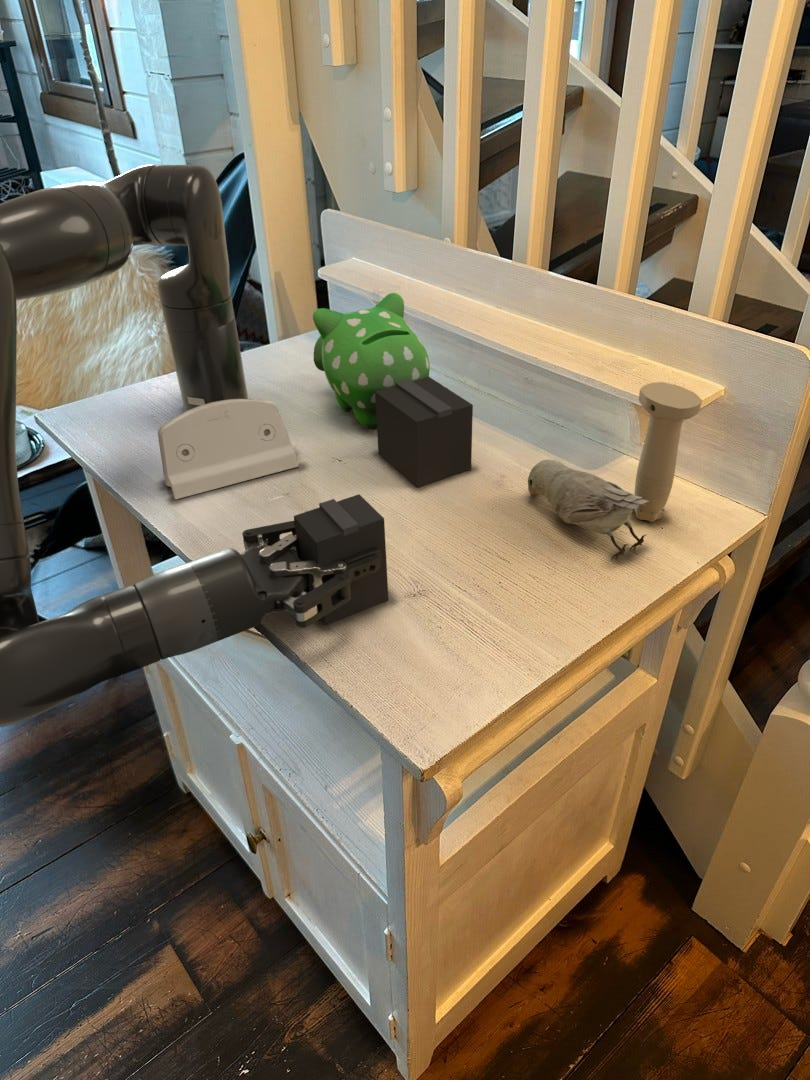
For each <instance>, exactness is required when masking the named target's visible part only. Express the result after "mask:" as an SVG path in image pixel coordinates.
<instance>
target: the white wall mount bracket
mask: <svg viewBox="0 0 810 1080" xmlns="http://www.w3.org/2000/svg"><path fill="white" fill-rule="evenodd" d="M157 439H158V445H159V452H160V453H159V454H160V458H161V464H162V466H161V467H162V472H163V479H164V484H165V486H167V487H170V488H171V492H172V495H173V499H174V500H179V499H183V498H186V497H190V496H194V495H197V494H201V493H205V492H208V491H209V492H210V491H213V490H216V489H219V488H223V487H227V486H231V485H234V484H239V483H242V482H246V481H249V480H253V479H257V478H261V477H263V476H264V477H265V476H268V475H271V474H276V473H279V472H283V471H288V470H290V469H294V468H297V467H299V461H298V457H297V454H296V452H295V449H294V447H293V444H292V442H291V438H290V437H289V434H288V432H287V428H286V426H285V424H284V420H283V418H282V415H281V413H280V410H279V408H278V405H276V404H275V403H274V402H272V401H270V400H263V399H257V398H248V399H230V400H222V401H217V402H212V403H208V404H205V405H201V406H198V407H196V408H193V409H190V410H188V411H186V412H184V411H183V412H182V413H180V414H178V415H176V416H174V417H172V418H171V419H169V420H168V421H166V422H165V423H163V424H162V425H161V426H160V427H159V428H158V431H157Z"/></svg>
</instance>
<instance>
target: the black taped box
mask: <svg viewBox="0 0 810 1080" xmlns="http://www.w3.org/2000/svg"><path fill="white" fill-rule="evenodd" d="M375 401H376V419H377V428H376V433H377V434H376V435H377V436H376V437H377V453H378V455H379V456H380V457H382V459H384V460H385V462H387V463H388V464H389V465H390V466H392V467H393V468H394V469H396V470H397V471H398V472H399V473H400V474H401V475H402V476H403V477H404V478H405V479H407V480H408V481H409V482H410V483H411V484H413V485H414V486H415V487H416V488H421V487H423V486H426V485H429V484H432V483H436V482H438V481H441V480H443V479H446V478H449V477H452V476H456V475H459V474H461V473H465V472H467V471H470V470H472V453H473V451H472V448H473V416H474V415H473V413H474V411H473V410H474V405H473V404H472V403H470V402H469V401H468V400H466V399H464V398H463V397H461V396H460V395H459V394H457V393H455V392H453V391H452V390H450V389H449V388H447V387H446V386H444V385H443V384H441V383H440V382H438V381H436V380H435V379H433V378H432V377H431V376H429V377H425V378H422V379H418V380H414V381H411V380H409V379H407V380H403V381H400V382H396V383H395V386H393V387H389V388H385V389H382V390H378V391H375Z"/></svg>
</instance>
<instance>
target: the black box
mask: <svg viewBox="0 0 810 1080" xmlns="http://www.w3.org/2000/svg"><path fill="white" fill-rule="evenodd" d="M293 521H294V523H295V530H296V537H297V538H298V540H299V547H300V555H301V560H302V561H310V560H316V561H317V562H318V563H319V564H320V565H321V566H323V565H326V564H329V563H331V562H335V561H343V559H345V558H347V557H350V556H353V555H355V554H358V553H361V552H364V551H366V550H369V549H372V548H378V549H379V550H380V552H381V553H382V567H381V568H380V569H379V570H378V571H377V572H376V573H373V574H370V575H368V576H365V577H363V578H360V579H357V580H355V581H353V582H351V583H350V592H351V599H350V601H348V602H346V603H345V604H343V605H342V606H340V607H338V608H337V609H335V610H333V611H332V612H330V613H329V614H327V615H325V616H324V617H322V618H321V619H320V620H322V622H323V623H324V624H325V626H328V625H331V624H332V623H335V622H337V621H340V620H343V619H345V618H348V617H350V616H352V615H355V614H358V613H361V612H362V611H365V610H367V609H370V608H373V607H375V606H377V605H379V604H382V603H384V602H388V601H389V585H388V584H389V582H388V564H387V545H386V527H385V518H384V516H383V515H381V513H379V512H378V510H376V509H375V508H374V507H373V506H372V505H371V504H370V503H369V502H368V501H367V500H366V499H365V498H364V497H363V496H362V495H361V494H359V493H358V494H355V495H353V496H350V497H349V496H348V497H346V498H343V499H340V500H335V498H332V499H329V500H326V501H322V502H320V503H319V504H318V507H316V508H313V509H311V510H307V511H304V512H301V513H299V514H295V515H293ZM333 577H335V576H334V574H328V575H323V576H322V582H327V581H328V580H330V579H332V578H333ZM309 581H310V583H309V585H312V584H313V583H314V576H313V575H312V574H310V573H309ZM309 585H308V586H309ZM336 593H337V591H336V592H334V593H333V594H332V595H331V596H333V595H335V594H336Z"/></svg>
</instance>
